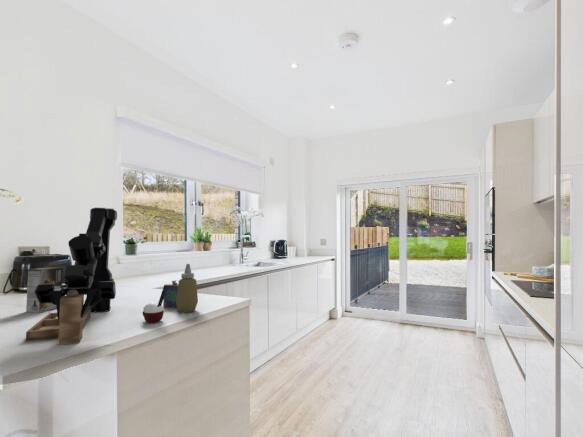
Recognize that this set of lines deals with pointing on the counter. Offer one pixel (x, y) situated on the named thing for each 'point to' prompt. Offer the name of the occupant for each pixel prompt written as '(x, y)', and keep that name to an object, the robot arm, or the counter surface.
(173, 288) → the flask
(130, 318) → the counter surface
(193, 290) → the squeeze bottle
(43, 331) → the tray
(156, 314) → the rice bowl with chopsticks
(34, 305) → the coffee box
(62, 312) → the pepper mill
